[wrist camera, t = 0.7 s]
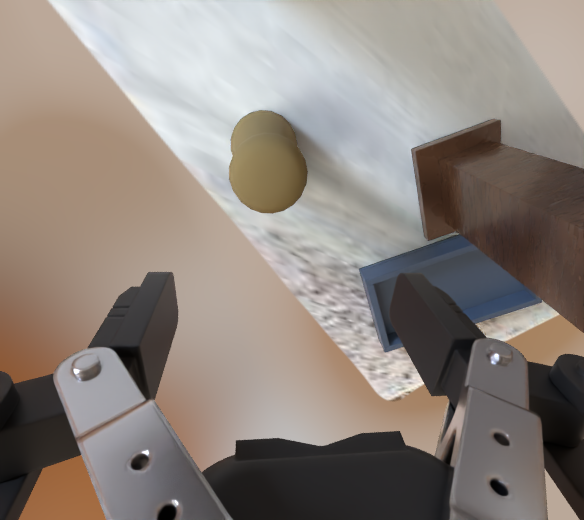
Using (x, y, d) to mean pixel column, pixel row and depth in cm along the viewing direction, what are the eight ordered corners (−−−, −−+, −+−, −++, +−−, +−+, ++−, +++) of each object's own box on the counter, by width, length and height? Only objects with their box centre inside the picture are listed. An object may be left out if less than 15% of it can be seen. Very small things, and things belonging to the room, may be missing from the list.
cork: (225, 113, 29) (212, 135, 19) (295, 107, 29) (316, 126, 19) (235, 182, 32) (228, 230, 22) (299, 176, 32) (318, 221, 22)
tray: (358, 268, 38) (365, 280, 36) (530, 209, 36) (547, 218, 34) (378, 338, 44) (385, 352, 42) (527, 290, 42) (542, 302, 40)
